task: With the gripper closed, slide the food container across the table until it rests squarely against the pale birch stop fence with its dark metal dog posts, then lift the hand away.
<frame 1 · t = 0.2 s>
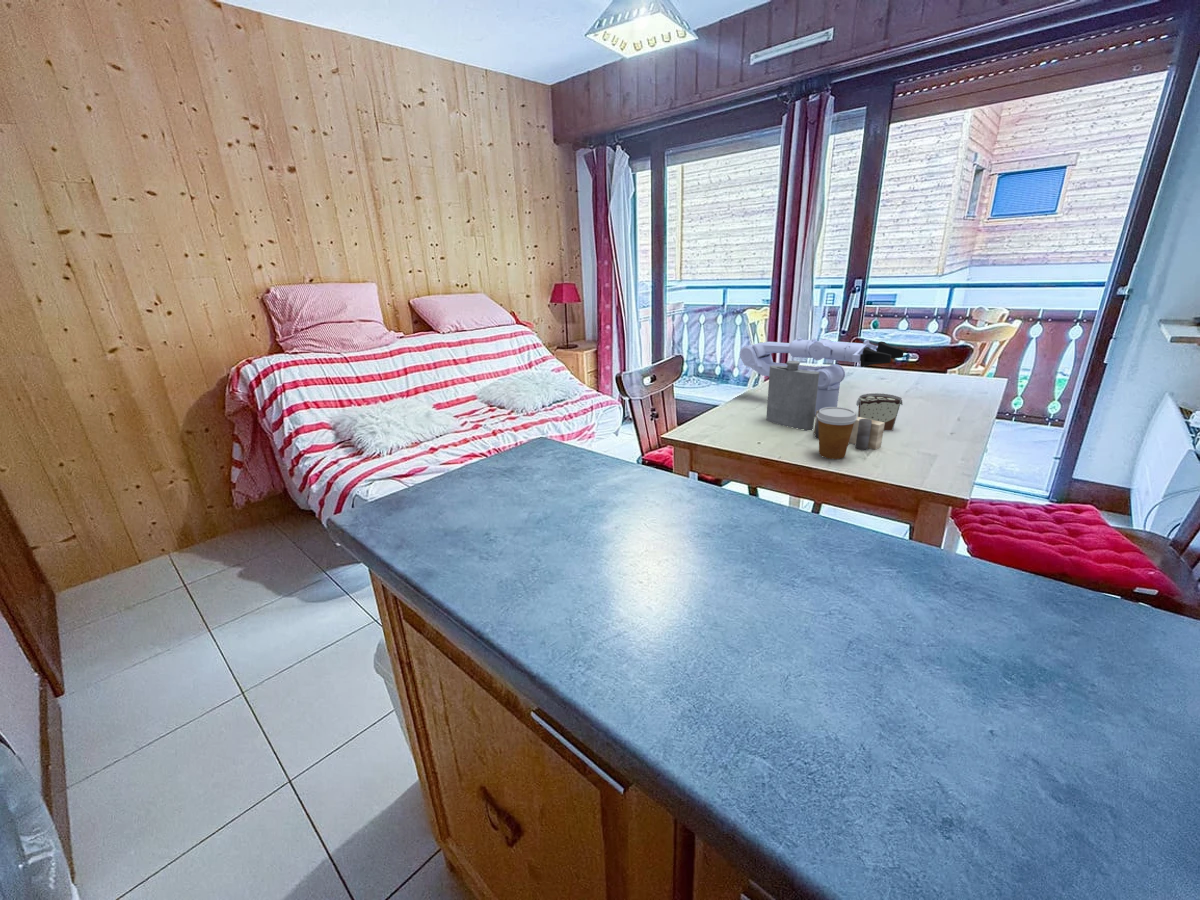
hand: (896, 356, 142), 21 cm above the table, tool horizontal, fingers open, 7 cm apart
hip flask: (788, 425, 157), on the table
disposable coffee cup: (831, 455, 133), on the table
food container: (871, 428, 150), on the table
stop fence: (845, 439, 142), on the table
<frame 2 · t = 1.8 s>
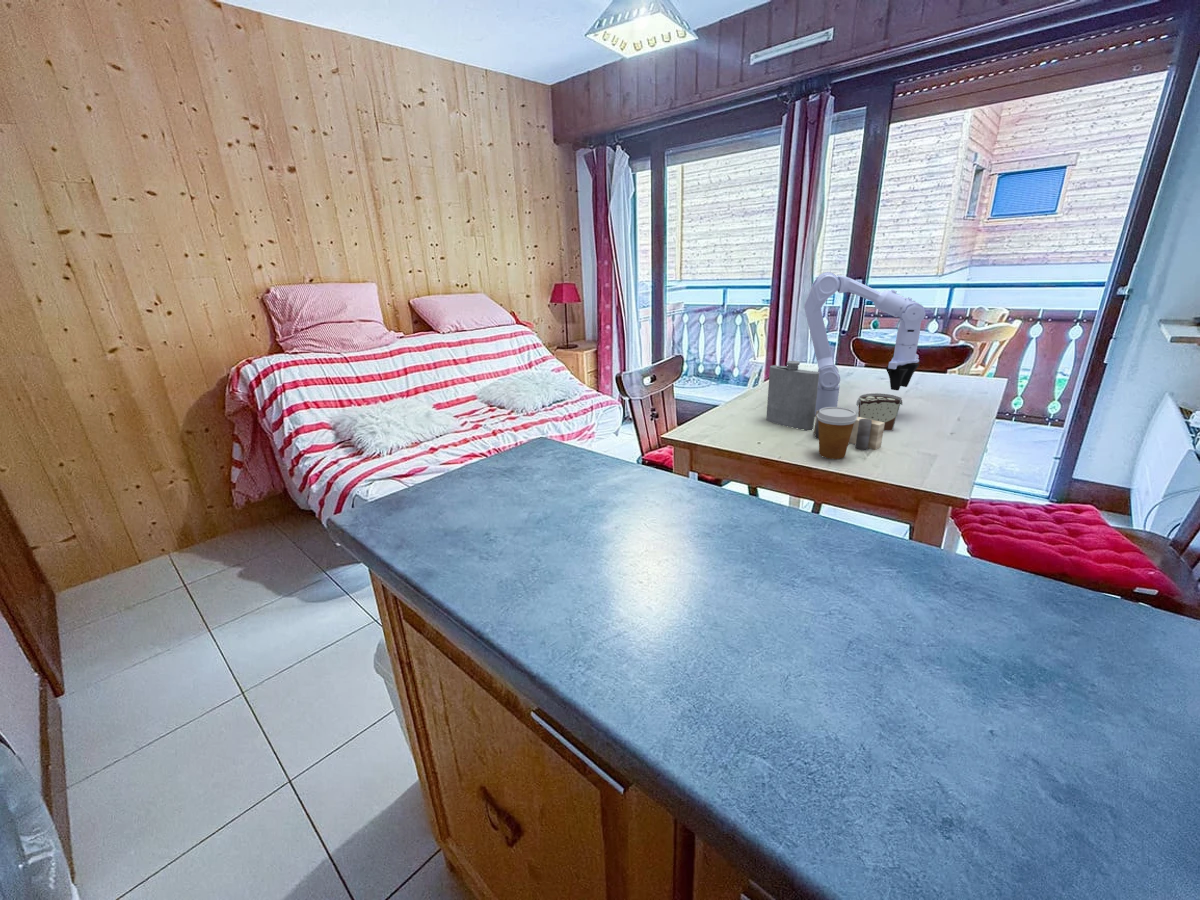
hand: (899, 388, 154), 9 cm above the table, tool pointing down, fingers open, 5 cm apart
nothing on the table moved.
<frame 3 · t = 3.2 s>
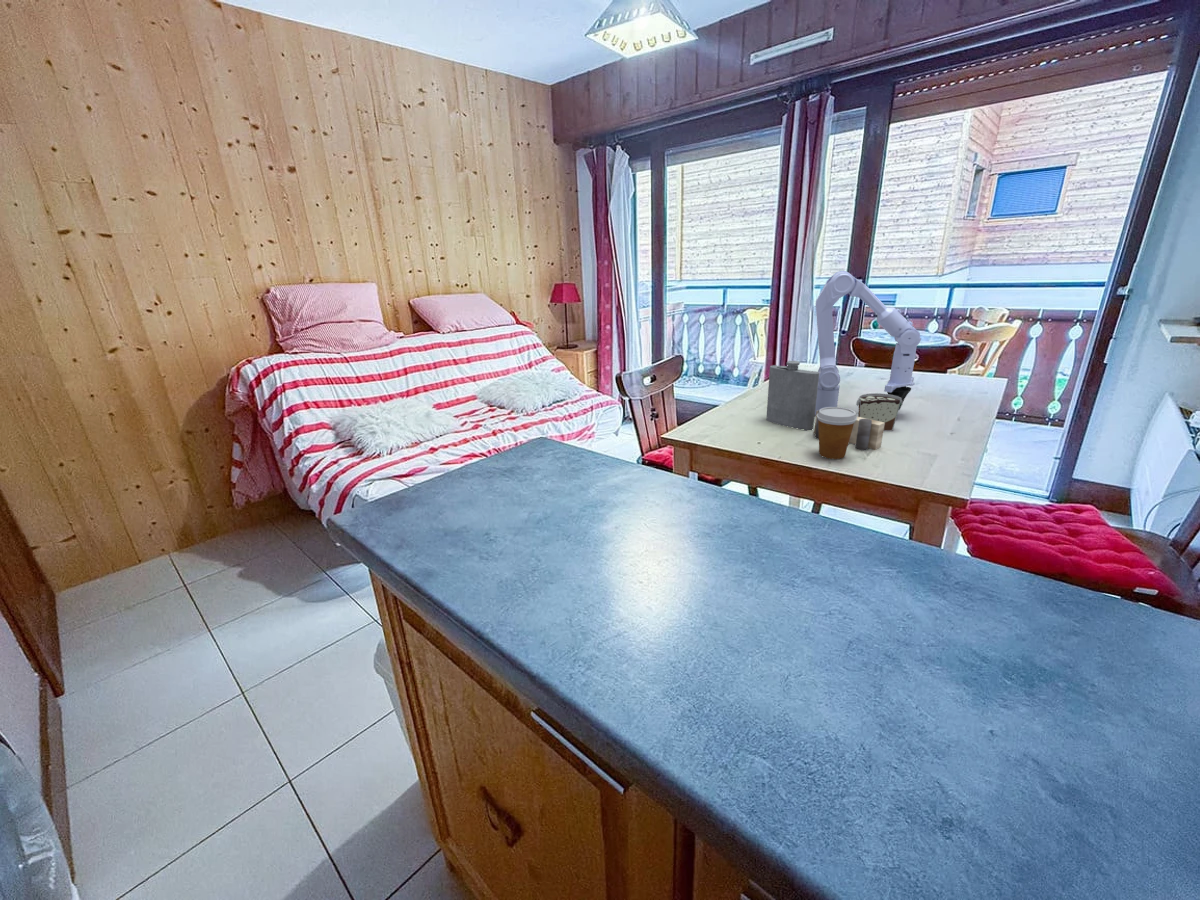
hand: (895, 409, 157), 2 cm above the table, tool pointing down, fingers closed
nothing on the table moved.
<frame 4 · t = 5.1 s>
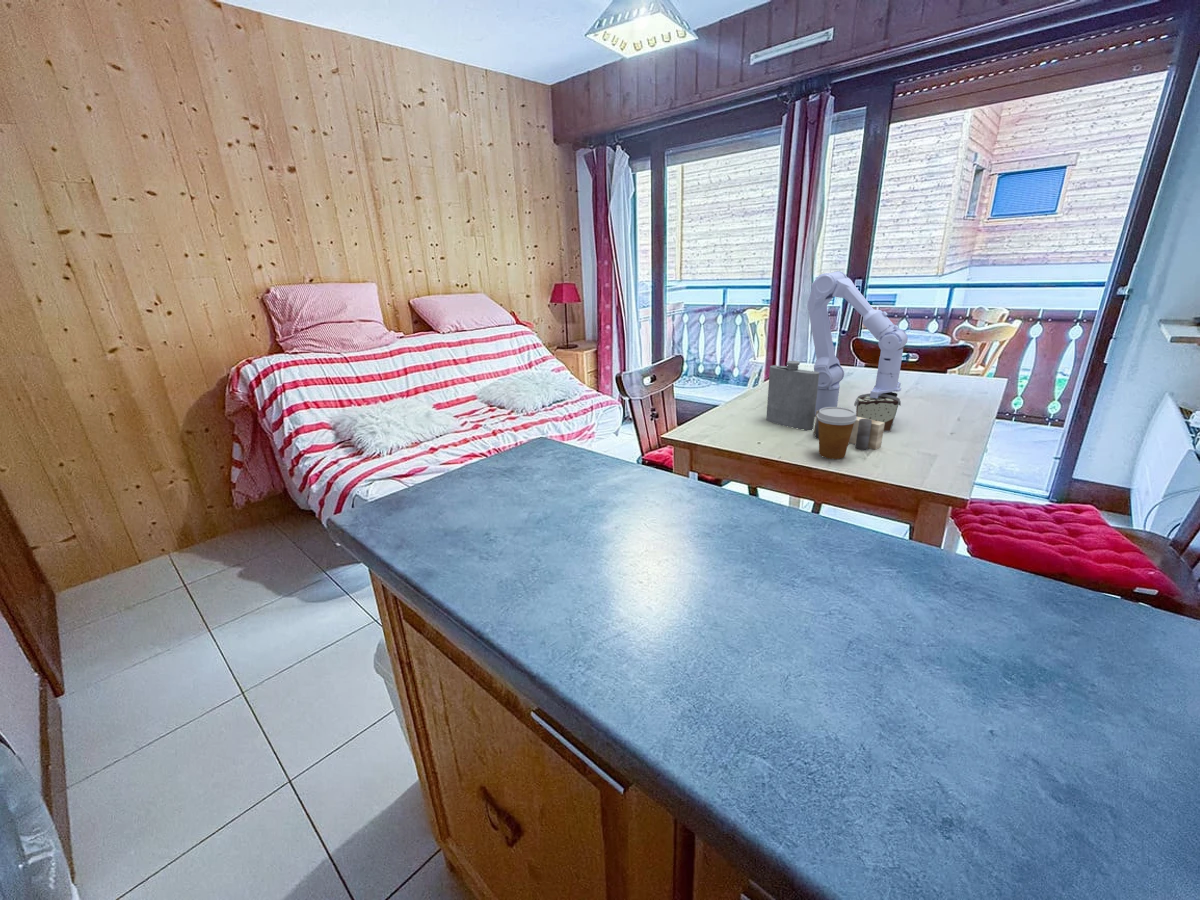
hand: (881, 416, 152), 2 cm above the table, tool pointing down, fingers closed
food container: (869, 428, 150), on the table, touching gripper
everything else where it was.
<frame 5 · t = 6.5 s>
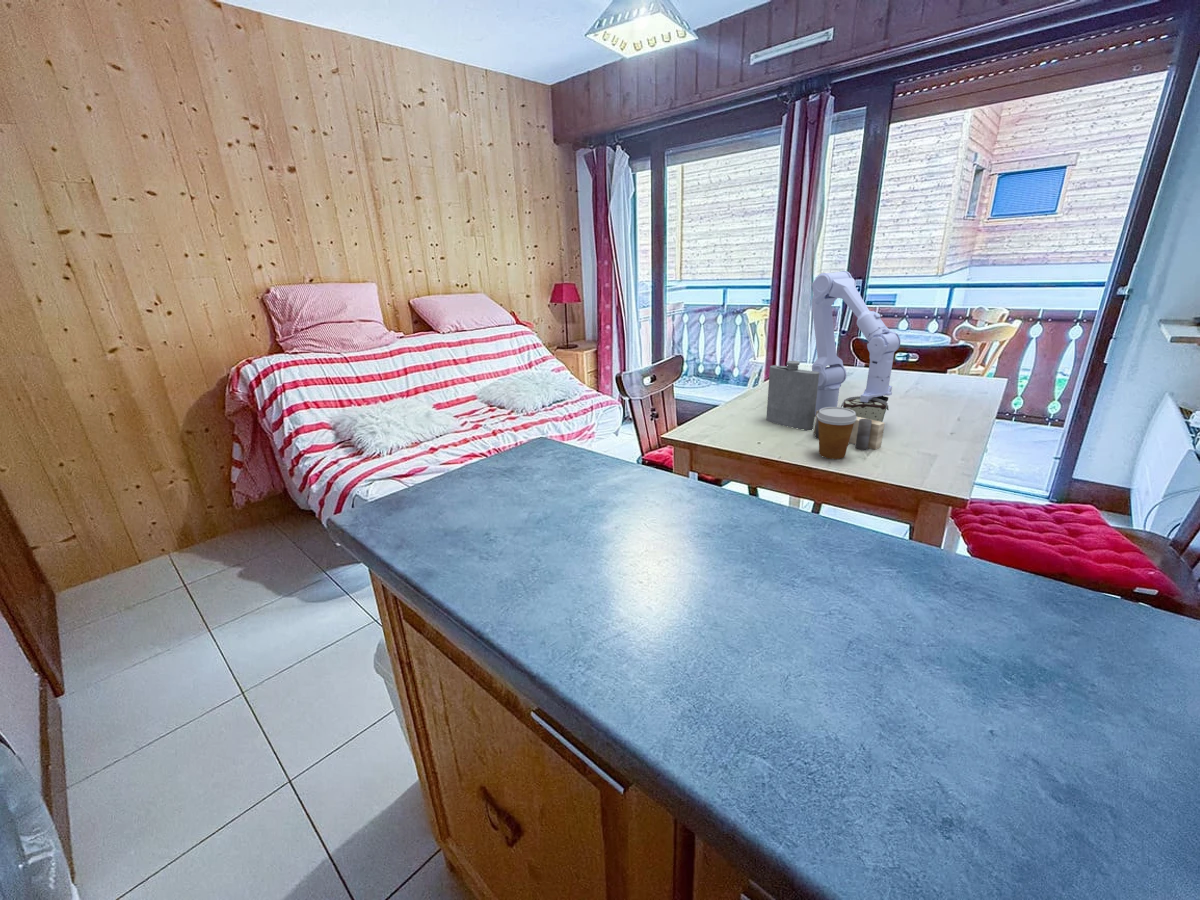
hand: (872, 420, 149), 2 cm above the table, tool pointing down, fingers closed
food container: (858, 431, 148), on the table, touching gripper
everything else where it was.
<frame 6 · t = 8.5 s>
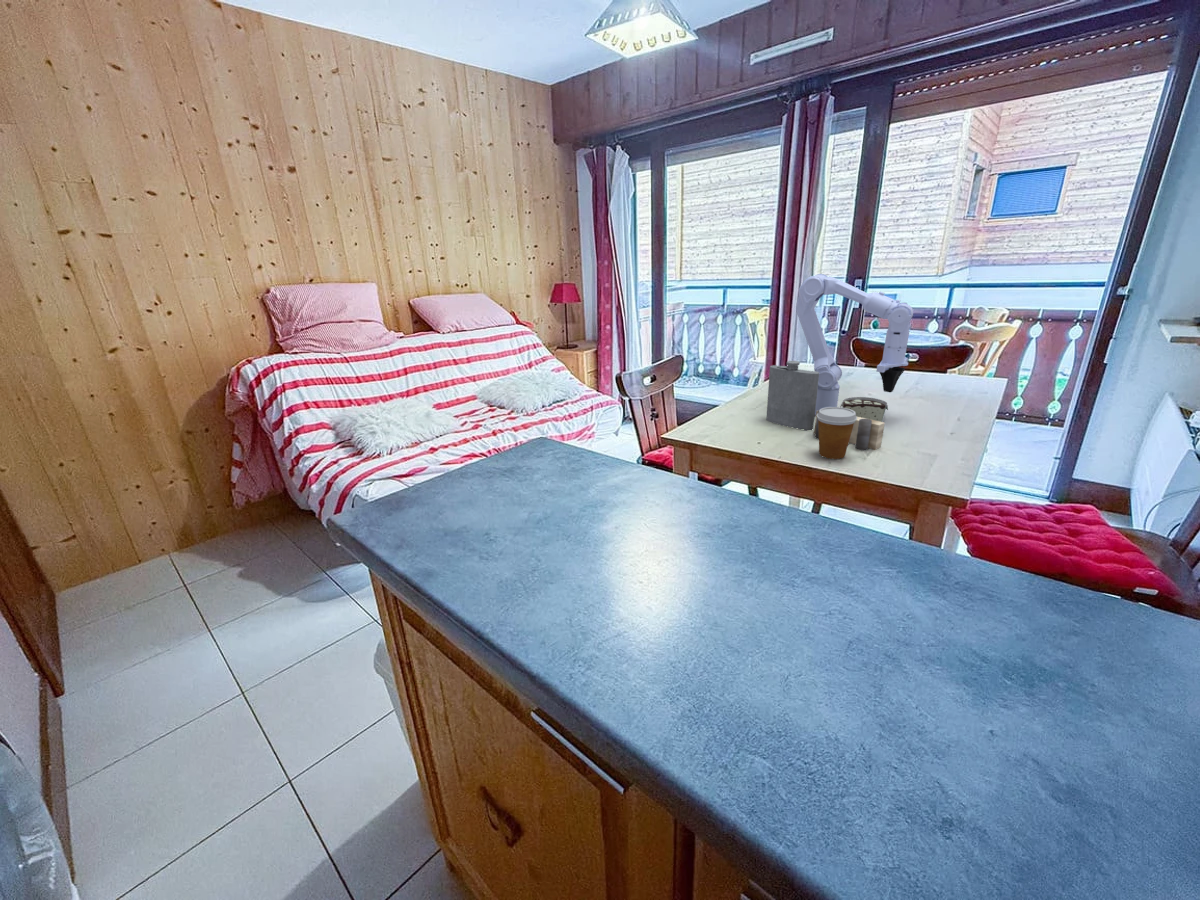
hand: (888, 391, 152), 9 cm above the table, tool pointing down, fingers closed
food container: (858, 432, 148), on the table
everything else where it was.
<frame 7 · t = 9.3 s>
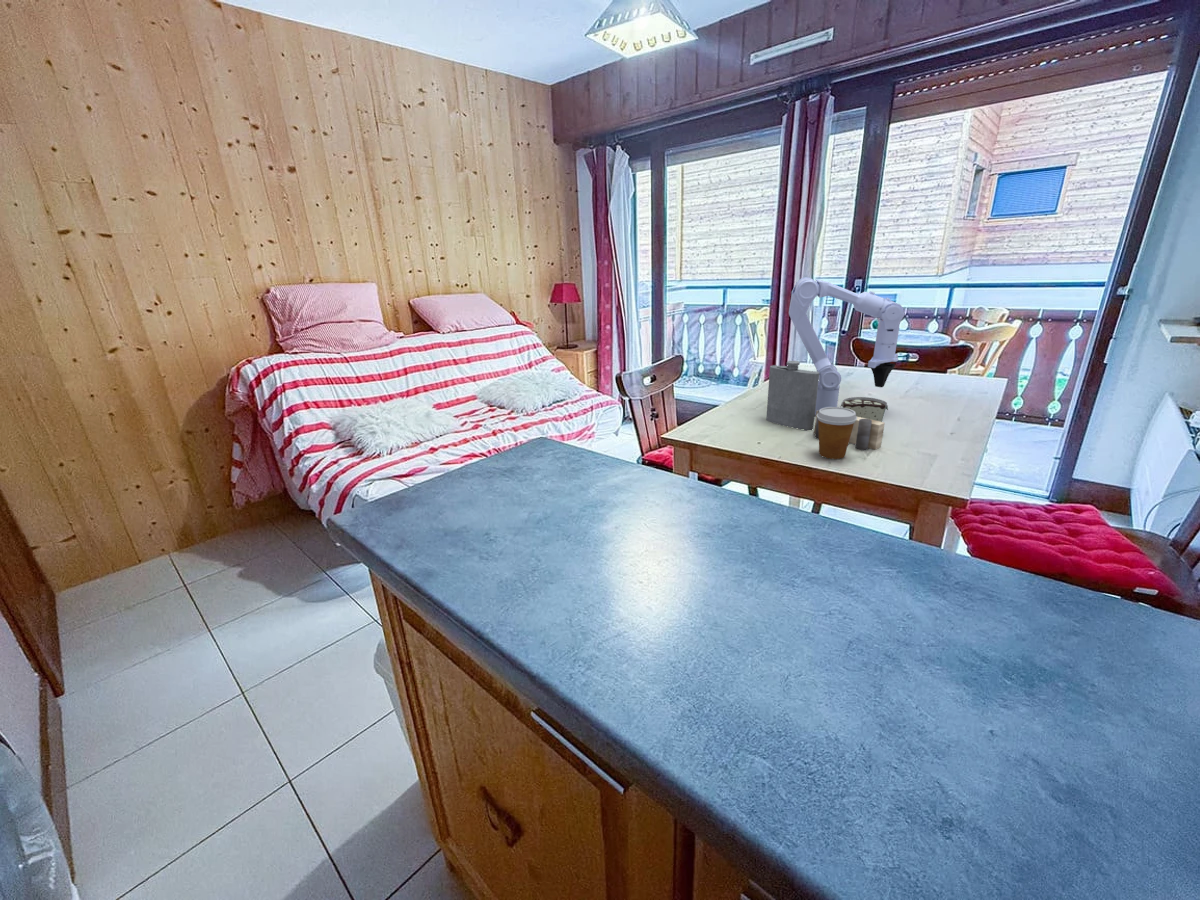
hand: (879, 386, 157), 9 cm above the table, tool pointing down, fingers closed
nothing on the table moved.
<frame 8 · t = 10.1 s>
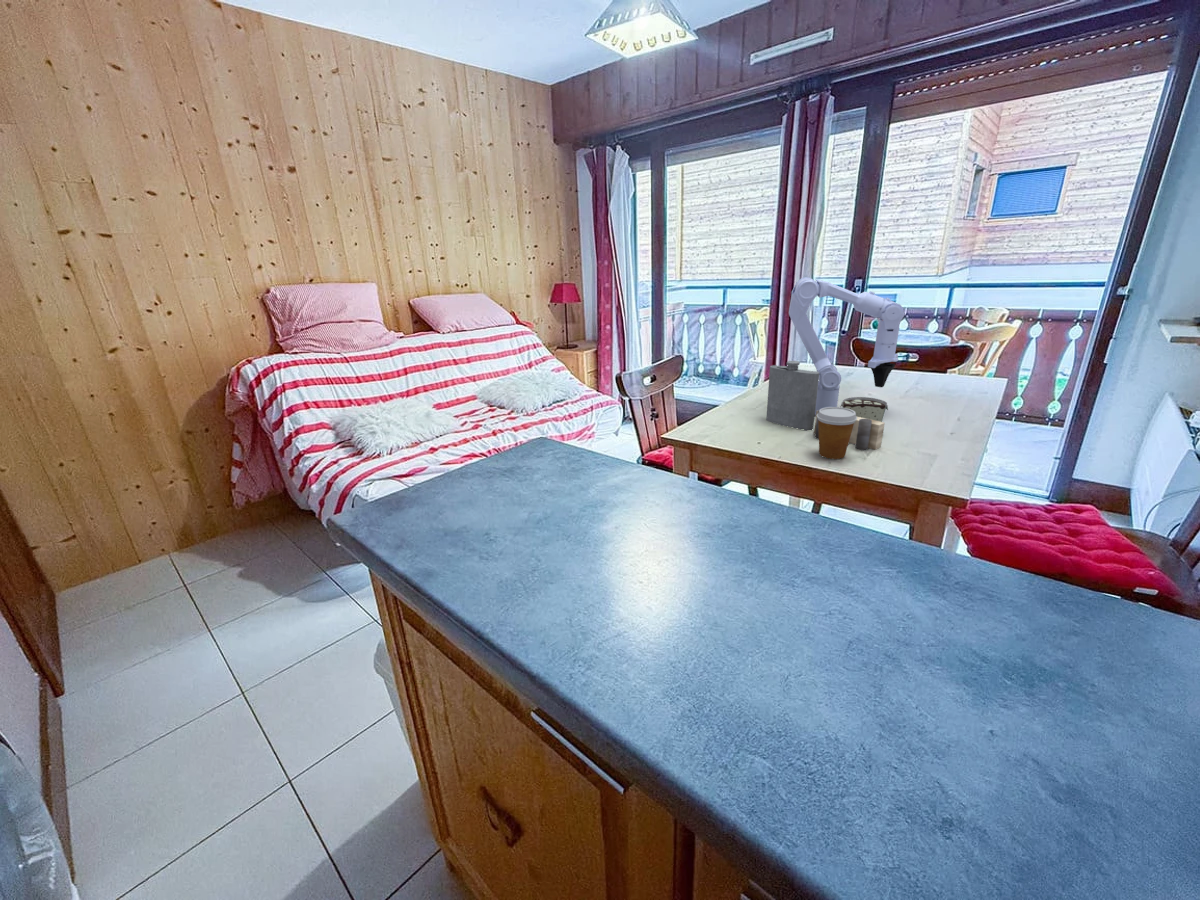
hand: (879, 386, 157), 9 cm above the table, tool pointing down, fingers closed
nothing on the table moved.
at the end: food container inside the target area (1.4 cm from its centre), on the table; food container tilted 0° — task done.
